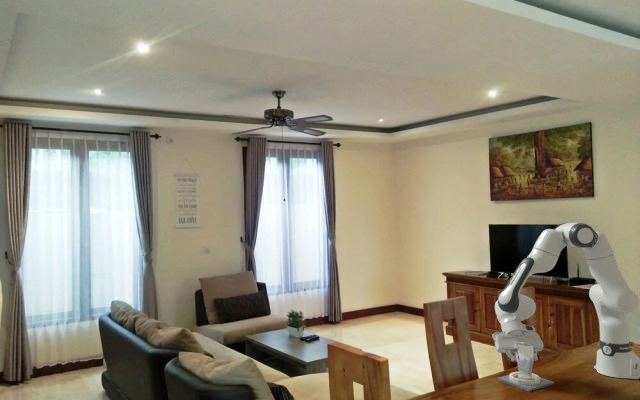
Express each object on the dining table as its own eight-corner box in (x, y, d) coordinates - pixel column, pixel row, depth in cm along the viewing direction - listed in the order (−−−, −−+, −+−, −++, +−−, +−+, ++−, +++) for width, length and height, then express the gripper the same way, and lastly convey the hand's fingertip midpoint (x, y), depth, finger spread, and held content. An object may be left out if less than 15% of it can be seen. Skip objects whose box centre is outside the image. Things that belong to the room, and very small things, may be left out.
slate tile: (521, 373, 219) (521, 368, 220) (553, 384, 206) (553, 378, 206) (496, 380, 211) (496, 374, 211) (529, 391, 198) (528, 385, 198)
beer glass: (514, 377, 212) (513, 341, 213) (530, 376, 212) (529, 341, 213) (520, 382, 205) (519, 346, 206) (537, 382, 205) (536, 346, 206)
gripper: (492, 328, 215) (503, 357, 205) (537, 326, 217) (550, 355, 207) (488, 336, 220) (499, 365, 210) (533, 334, 221) (545, 363, 211)
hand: (525, 360), depth 208 cm, fingers open, 8 cm apart
